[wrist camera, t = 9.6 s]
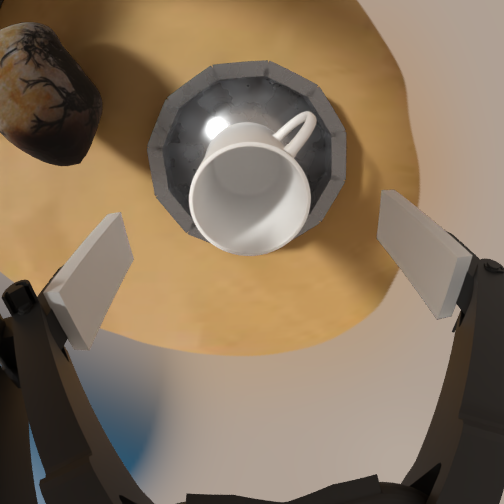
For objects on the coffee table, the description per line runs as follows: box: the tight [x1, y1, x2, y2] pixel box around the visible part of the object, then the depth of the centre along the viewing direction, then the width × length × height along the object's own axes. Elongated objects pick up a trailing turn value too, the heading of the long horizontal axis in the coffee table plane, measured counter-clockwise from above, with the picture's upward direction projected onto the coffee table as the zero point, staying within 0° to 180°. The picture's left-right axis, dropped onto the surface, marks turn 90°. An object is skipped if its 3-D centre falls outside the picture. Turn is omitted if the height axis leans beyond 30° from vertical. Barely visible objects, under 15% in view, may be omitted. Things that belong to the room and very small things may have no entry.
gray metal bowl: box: [147, 60, 346, 243], centre depth 29 cm, size 19×19×3 cm
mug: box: [189, 111, 317, 256], centre depth 24 cm, size 12×8×12 cm
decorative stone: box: [0, 22, 102, 166], centre depth 18 cm, size 18×9×15 cm, turn 38°
